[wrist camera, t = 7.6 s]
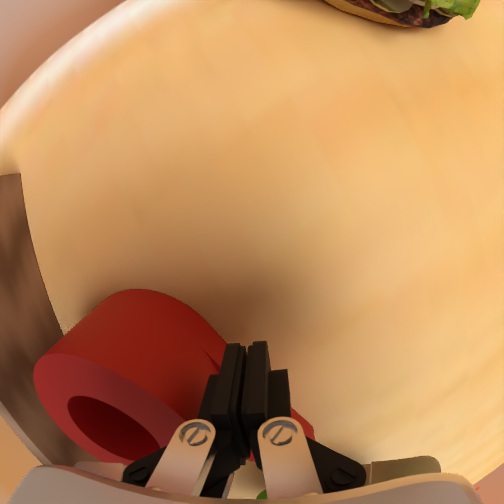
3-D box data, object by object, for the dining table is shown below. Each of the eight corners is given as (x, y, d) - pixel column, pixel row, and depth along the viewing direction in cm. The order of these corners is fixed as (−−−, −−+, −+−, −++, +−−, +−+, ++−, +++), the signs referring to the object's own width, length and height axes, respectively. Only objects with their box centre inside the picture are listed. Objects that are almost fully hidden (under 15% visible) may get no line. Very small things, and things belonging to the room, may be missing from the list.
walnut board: (123, 439, 19) (94, 501, 11) (103, 434, 19) (73, 492, 12) (20, 173, 13) (-71, 188, 5) (3, 183, 13) (-79, 201, 5)
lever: (78, 350, 16) (29, 405, 10) (125, 256, 14) (47, 308, 8) (267, 462, 18) (265, 524, 12) (352, 409, 16) (373, 483, 10)
